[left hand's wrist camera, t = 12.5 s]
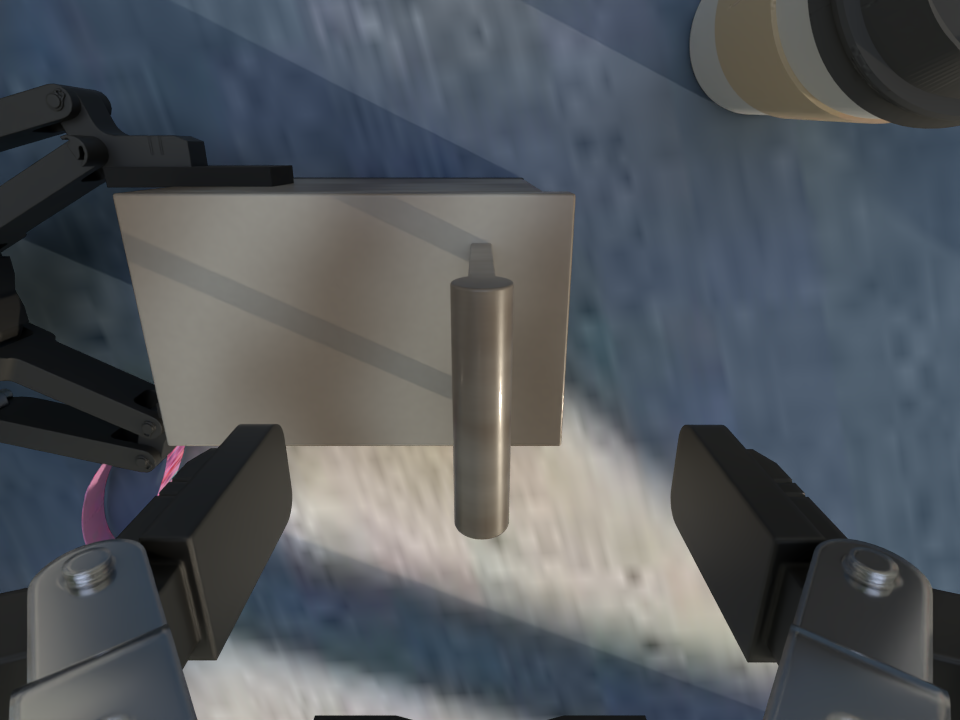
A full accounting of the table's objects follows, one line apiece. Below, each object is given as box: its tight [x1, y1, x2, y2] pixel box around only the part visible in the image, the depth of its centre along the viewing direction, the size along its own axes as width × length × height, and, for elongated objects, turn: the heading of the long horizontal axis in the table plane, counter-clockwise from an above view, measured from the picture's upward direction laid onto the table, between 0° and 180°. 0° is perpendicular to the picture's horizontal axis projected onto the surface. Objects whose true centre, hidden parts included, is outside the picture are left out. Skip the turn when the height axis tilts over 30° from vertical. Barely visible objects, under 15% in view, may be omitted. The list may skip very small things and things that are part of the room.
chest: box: [133, 178, 542, 192], centre depth 26 cm, size 14×9×11 cm, turn 90°
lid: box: [113, 192, 576, 539], centre depth 17 cm, size 15×9×8 cm, turn 90°
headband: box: [82, 446, 185, 545], centre depth 35 cm, size 11×4×2 cm, turn 151°
